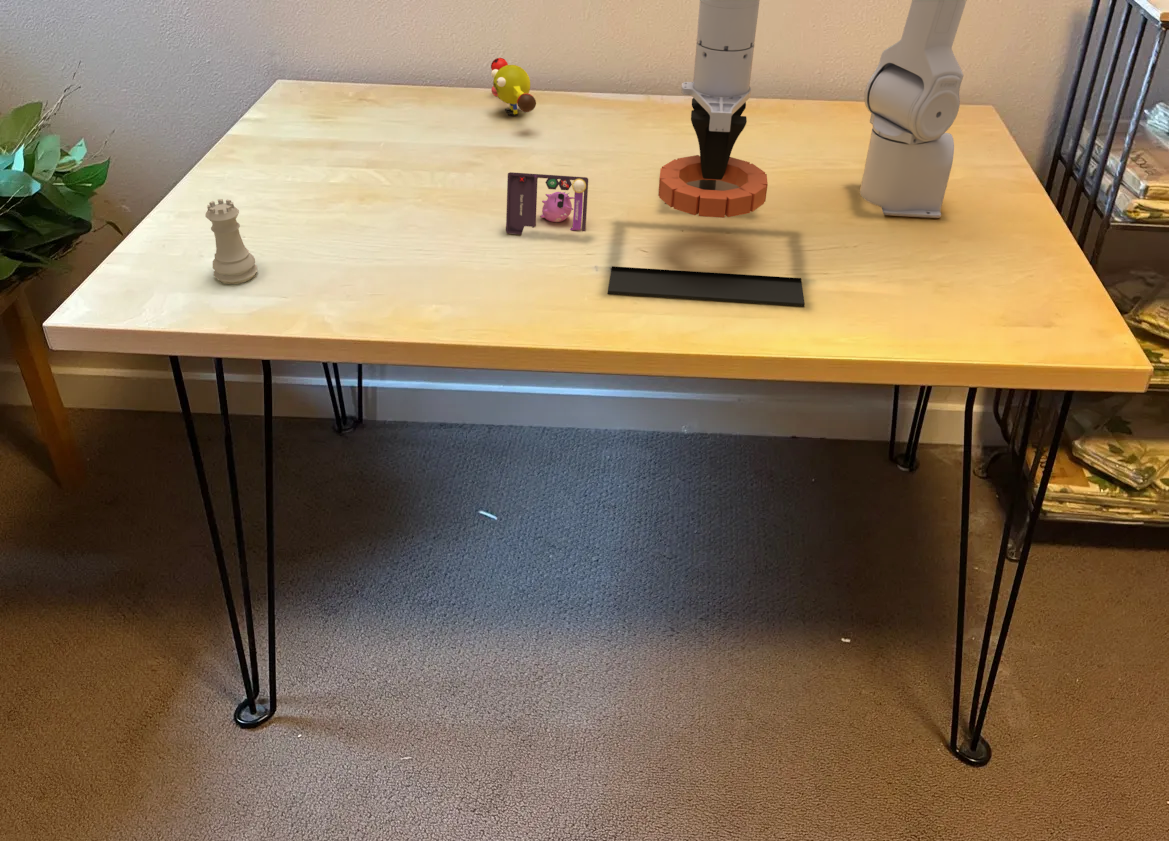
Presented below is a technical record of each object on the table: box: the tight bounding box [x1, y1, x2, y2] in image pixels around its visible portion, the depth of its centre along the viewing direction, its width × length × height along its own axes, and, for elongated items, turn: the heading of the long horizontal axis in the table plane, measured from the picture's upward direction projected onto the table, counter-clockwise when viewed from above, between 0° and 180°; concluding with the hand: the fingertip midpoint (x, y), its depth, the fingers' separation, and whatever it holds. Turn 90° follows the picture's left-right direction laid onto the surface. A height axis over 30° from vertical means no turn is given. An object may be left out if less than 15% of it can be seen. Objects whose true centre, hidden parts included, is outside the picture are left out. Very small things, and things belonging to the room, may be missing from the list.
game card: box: [505, 171, 589, 235], centre depth 111 cm, size 7×5×9 cm
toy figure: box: [490, 57, 537, 117], centre depth 138 cm, size 18×6×7 cm, turn 17°
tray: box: [607, 265, 806, 308], centre depth 106 cm, size 20×16×1 cm
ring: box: [657, 154, 769, 218], centre depth 101 cm, size 11×11×2 cm
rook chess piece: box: [205, 198, 258, 285], centre depth 100 cm, size 4×4×8 cm
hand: (712, 172), depth 105 cm, fingers closed on ring, 2 cm apart
